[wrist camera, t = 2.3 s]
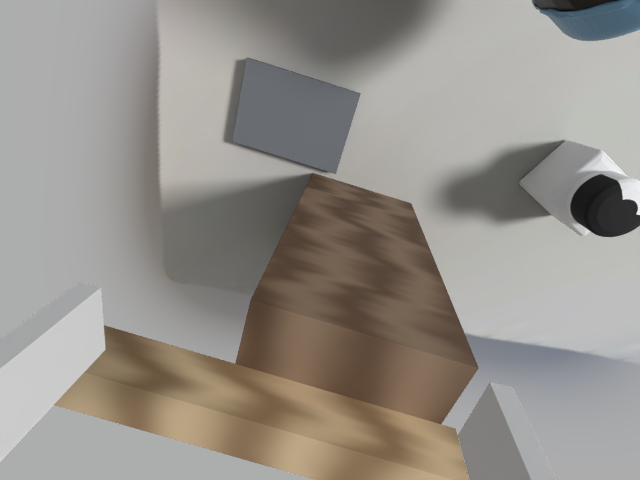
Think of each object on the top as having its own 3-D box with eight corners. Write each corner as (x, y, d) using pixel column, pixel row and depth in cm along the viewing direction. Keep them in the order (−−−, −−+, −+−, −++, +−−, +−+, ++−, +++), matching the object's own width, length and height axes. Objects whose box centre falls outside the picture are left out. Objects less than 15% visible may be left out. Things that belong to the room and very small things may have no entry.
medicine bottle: (552, 216, 46) (611, 258, 36) (516, 182, 45) (566, 215, 34) (602, 175, 44) (682, 207, 33) (565, 138, 42) (636, 159, 32)
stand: (288, 259, 53) (215, 446, 26) (313, 173, 47) (250, 299, 20) (375, 286, 54) (392, 496, 27) (411, 203, 48) (478, 368, 21)
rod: (70, 354, 24) (26, 397, 21) (68, 315, 22) (21, 354, 19) (433, 460, 24) (444, 516, 21) (455, 428, 23) (470, 484, 20)
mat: (235, 139, 47) (232, 141, 45) (250, 58, 42) (246, 57, 41) (336, 171, 47) (335, 173, 46) (360, 93, 43) (360, 93, 41)
